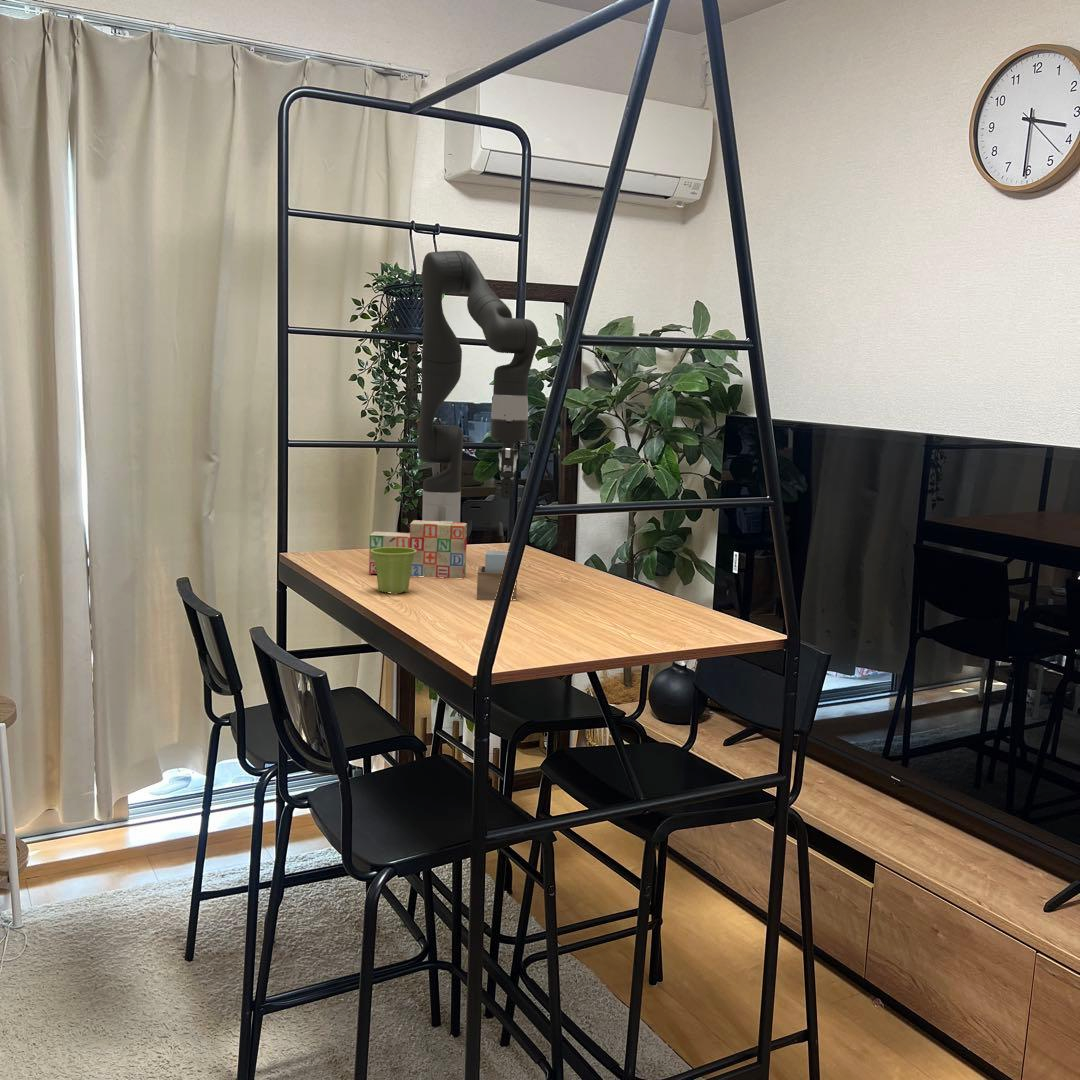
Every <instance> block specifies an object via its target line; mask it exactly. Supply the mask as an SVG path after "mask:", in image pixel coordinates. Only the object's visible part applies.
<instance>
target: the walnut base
mask: <svg viewBox="0 0 1080 1080" xmlns="http://www.w3.org/2000/svg"><path fill="white" fill-rule="evenodd" d="M476 576H477V580H476V600H480V601H481V600H483V601H496V600H495V597H496V594H497V590H498V587H499V583H500V580H501V576H502V573H492V572H485V565H478V570H477V575H476ZM517 587H518V579H517V580H516V585H515V588H514V592H513V596H512V600H513V599H516V600H517V591H518V588H517Z"/></svg>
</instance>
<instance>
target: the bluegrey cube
mask: <svg viewBox="0 0 1080 1080" xmlns="http://www.w3.org/2000/svg"><path fill="white" fill-rule="evenodd" d="M508 552H509V551H503V550H502V551H501V550H500V551H499V550H486V551H485V556H484V557H485V559H484V562H485V563H484V566H485V572H492V573H502V572H503V568H504V565H505V561H506V557H507V553H508Z"/></svg>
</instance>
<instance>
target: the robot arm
mask: <svg viewBox="0 0 1080 1080" xmlns="http://www.w3.org/2000/svg"><path fill="white" fill-rule="evenodd" d="M421 282H422V284H421V285H422V306H423V307H422V308H423V309H422V310H423V330H422V333H423V334H422V349H421V350H422V351H421V396H420V397H421V399H420V400H421V401H420V411H419V412H420V414H419V422H418V423H419V424H418V433H417V434H418V435H417V454H418V455H417V456H418V458H419V460H420V461H421V462H423V463H427V464H428V463H429V464H431V463H432V464H448V466H447V468H446V469H444V470H443V471H441V472H440V473H438V474H435V475H432V476H429V477H426V478H425V479H424V480H423V483H422V515H421V517H422V520H421V521H452V522H456V523H461V497H462V496H461V493H462V489H461V488H462V481H461V480H462V463H463V462H462V460H463V450H464V434H463V430H462V428H461V427H460V426H458V425H451V424H434V421H435V417H436V415H437V413H438V411H439V409H440V408H441V406H442V405H443V403H444V402H445V400H446V399H447V398H448V397H449V396H450V394H451V393H452V391H453V390H454V389H455V387H456V386H457V384H458V383H459V381H460V380H461V374H462V364H463V363H462V362H463V361H462V359H463V350H462V345H461V344H460V342H459V339H458V337H457V336H456V333H455V332H454V331H453V329H452V328H451V326H450V325H449V322H448V321H447V319H446V317H445V314H444V310H443V295H447V294H462V293H467V294H468V297H467V301H466V304H467V311H468V314H469V315H470V317H471V318H472V320H473V321H474V322H475V324H477V325H478V326H479V327H480V328H481V330H482V333H483V335H484V338H485V341H486V344H487V347H488V348H489V349H491V350H492V351H494V352H496V353H500V354H514V355H513V357H512V360H511V361H510V363H508V364H502V365H500V366H499V365H498V366H497V367H495V369H494V371H493V372H494V373H493V389H492V390H493V391H492V393H493V396H492V401H491V413H490V414H491V418H490V421H491V422H490V439H491V440H492V441H498V442H501V443H502V448H499V449H498V459H499V462H498V468H499V471H500V473H499V474H500V480H501V484H500V485H501V487H500V488H501V490H500V491H501V492H500V497H501V499H507V500H508V499H509V500H510V499H512V498H513V492H514V491H513V490H514V478H515V477H514V475H515V472H516V471H517V460H518V458H519V449H516V444H515V443H516V442H518V443H519V442H525V441H527V440H528V430H529V429H528V426H529V424H528V422H529V400H528V391H529V390H528V388H529V374H530V371H531V368H532V363H533V361H534V357H535V353H536V350H537V348H538V344H539V331H538V330H539V329H538V327H537V326H536V324H535V323H534V322H533V321H532V320H530V319H528V318H518V317H513V313H512V311H511V309H510V308H509V306H508V305H507V304H505V303H504V301H503V300H502V299H500V297H499V296H498V295H497V294H496V293H495V292H494V291H493V290H492V288H490V285H489V283H488V282H487V280H486V279H485V277H484V275H483V273H482V271H481V269H480V268H479V267H478V265H477V263H476V262H475V260H474V259H473V257H472V256H471V255H470V254H469V253H467V252H466V251H464V250H443V251H442V250H441V251H431V252H428V253H426V254H425V256H424V258H423V261H422V268H421Z"/></svg>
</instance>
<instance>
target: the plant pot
mask: <svg viewBox="0 0 1080 1080" xmlns="http://www.w3.org/2000/svg"><path fill="white" fill-rule="evenodd" d="M416 551H417V550H415V549H412V548H403V547H382V548H375V549H372V550H371V553H373V559H374V560H375V566H376V574H377V575H376V581H377V588H378V589H377V590H378V592H380V591H384V593H386V592H391V593H392V594H396V593H398V594H402V593H403V591H404V593H407V592H409V587H410V581H411V577H410V574H411V567H412V561H413V559H414V555H415V553H416Z"/></svg>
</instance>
